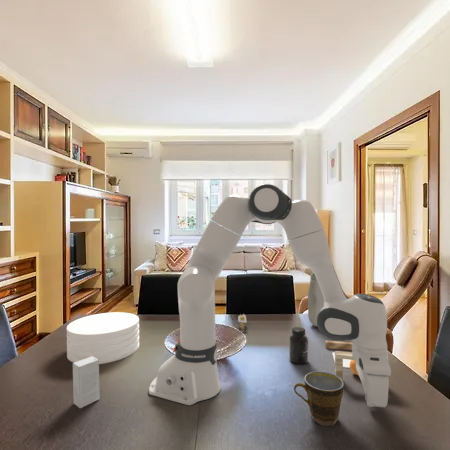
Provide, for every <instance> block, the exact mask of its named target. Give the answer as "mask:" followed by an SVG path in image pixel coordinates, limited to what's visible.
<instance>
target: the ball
mask: <svg viewBox="0 0 450 450" xmlns="http://www.w3.org/2000/svg"><path fill="white" fill-rule="evenodd" d="M349 369H350V371H351V372H352V373H353V374H354V375H355V376H359V374H358V372H357V369H356V361H354V360H351V361H350V368H349Z"/></svg>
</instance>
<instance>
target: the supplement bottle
mask: <svg viewBox="0 0 450 450" xmlns="http://www.w3.org/2000/svg"><path fill="white" fill-rule="evenodd" d="M291 328H292V329H291V335H290V337H289V349H288V350H289V351H288V352H289V361H290V362H291V363H292V364H295V365H305V364H307V363H308V362H309V339H308V337H307V336H306V328H304V327H299V326H295V327H291Z"/></svg>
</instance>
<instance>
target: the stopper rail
mask: <svg viewBox="0 0 450 450" xmlns="http://www.w3.org/2000/svg"><path fill="white" fill-rule="evenodd" d="M324 347H325V348H326V349H329V350H330V349H331V350H332V349H333V350H341V351H352V341H351V342H350V341H342V340H326V339H325V346H324Z"/></svg>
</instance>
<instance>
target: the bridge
mask: <svg viewBox="0 0 450 450" xmlns="http://www.w3.org/2000/svg"><path fill="white" fill-rule="evenodd" d="M334 352H335V361H334V375H336V376H338V377H339V378H340V379H341V380H342V381H343V382H344V376H343V375H344V367H343V359H349V360H353V358H352V351H345V350H334Z"/></svg>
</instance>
